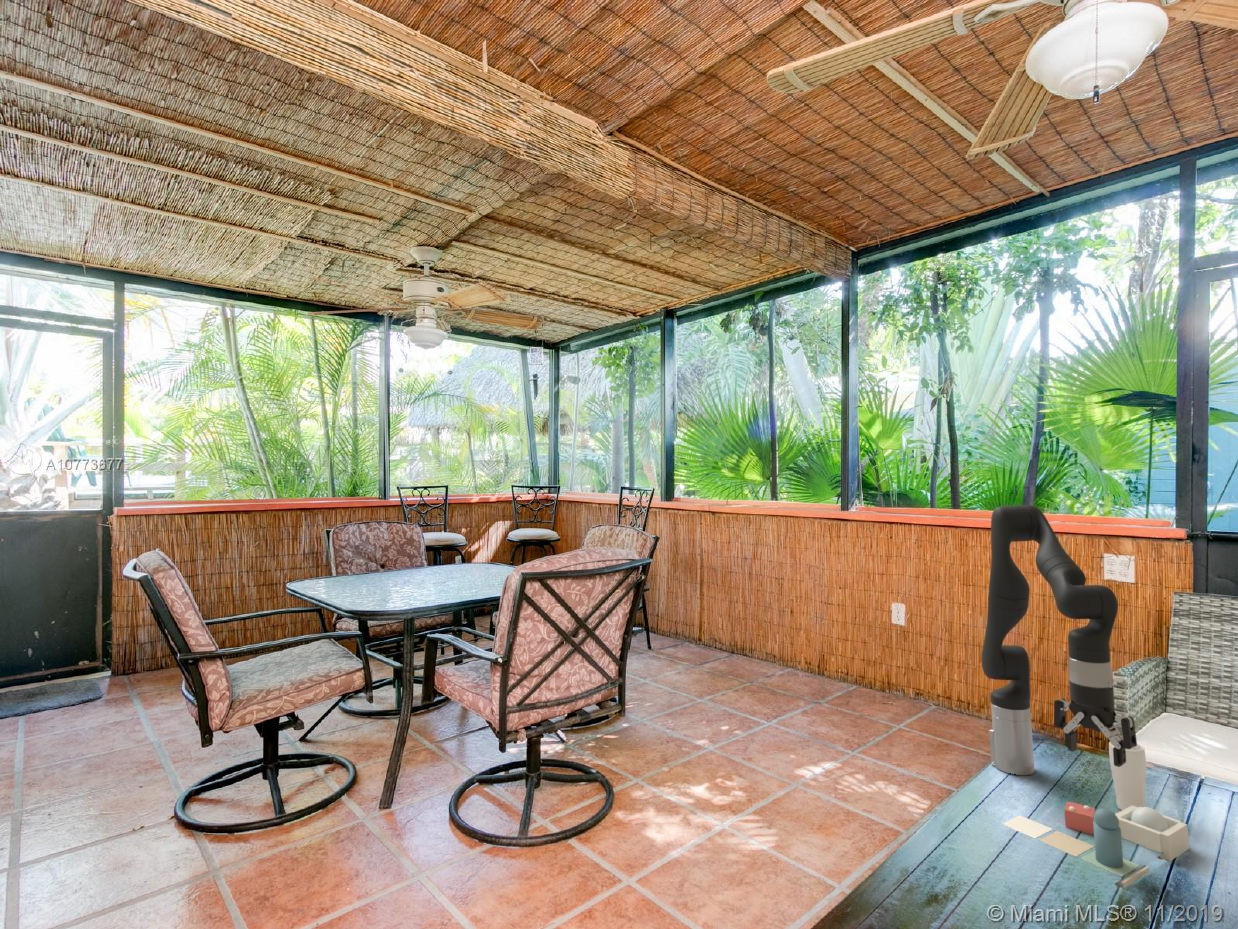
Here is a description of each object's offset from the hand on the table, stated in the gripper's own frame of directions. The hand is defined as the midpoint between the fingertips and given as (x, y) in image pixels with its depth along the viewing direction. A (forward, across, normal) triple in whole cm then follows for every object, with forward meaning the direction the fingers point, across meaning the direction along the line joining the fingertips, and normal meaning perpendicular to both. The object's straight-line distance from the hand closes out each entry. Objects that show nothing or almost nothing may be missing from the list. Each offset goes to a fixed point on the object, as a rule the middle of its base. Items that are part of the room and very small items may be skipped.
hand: (1095, 757), depth 132 cm
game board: (+20, -4, -4) cm, 21 cm away
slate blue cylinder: (+18, +4, -4) cm, 19 cm away
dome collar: (+20, +4, +13) cm, 24 cm away
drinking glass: (+21, -6, +26) cm, 33 cm away
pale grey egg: (+20, +4, +13) cm, 24 cm away
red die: (+20, -6, +6) cm, 22 cm away
